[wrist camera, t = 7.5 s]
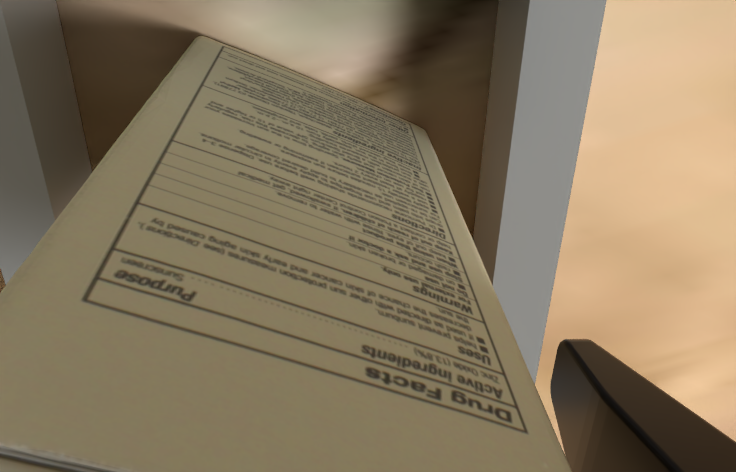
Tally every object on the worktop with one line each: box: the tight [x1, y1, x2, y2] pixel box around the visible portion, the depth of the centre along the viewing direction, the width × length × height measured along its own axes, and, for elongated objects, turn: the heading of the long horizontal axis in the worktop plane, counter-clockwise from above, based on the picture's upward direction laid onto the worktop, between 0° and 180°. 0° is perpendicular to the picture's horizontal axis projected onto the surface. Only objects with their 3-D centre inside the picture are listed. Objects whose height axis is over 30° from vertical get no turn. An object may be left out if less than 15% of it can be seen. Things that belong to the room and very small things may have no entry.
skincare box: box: [0, 36, 572, 472], centre depth 11 cm, size 6×4×12 cm
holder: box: [0, 0, 606, 384], centre depth 15 cm, size 13×13×2 cm
